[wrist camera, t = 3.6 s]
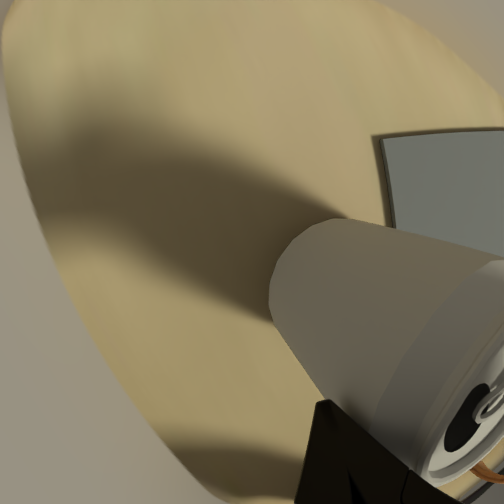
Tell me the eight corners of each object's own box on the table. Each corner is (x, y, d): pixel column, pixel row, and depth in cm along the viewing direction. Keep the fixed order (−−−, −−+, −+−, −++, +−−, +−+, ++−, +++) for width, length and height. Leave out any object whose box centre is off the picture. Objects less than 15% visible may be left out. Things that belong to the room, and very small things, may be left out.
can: (239, 257, 15) (379, 430, 4) (361, 193, 16) (573, 222, 5) (295, 367, 17) (405, 529, 6) (395, 303, 18) (546, 395, 7)
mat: (540, 301, 18) (544, 303, 18) (397, 364, 19) (399, 368, 19) (542, 131, 14) (546, 131, 14) (379, 139, 15) (383, 139, 15)
